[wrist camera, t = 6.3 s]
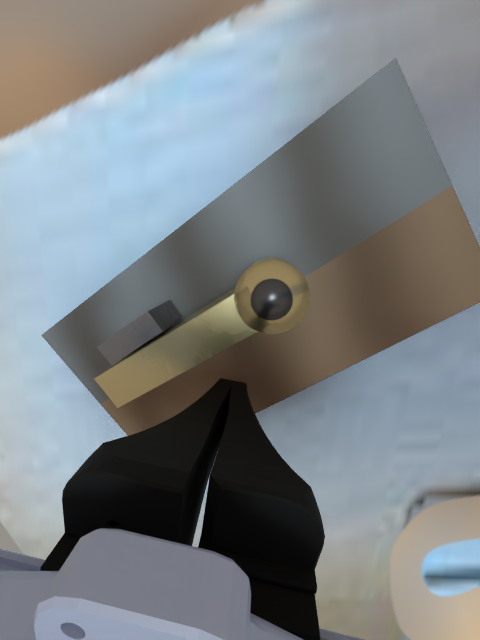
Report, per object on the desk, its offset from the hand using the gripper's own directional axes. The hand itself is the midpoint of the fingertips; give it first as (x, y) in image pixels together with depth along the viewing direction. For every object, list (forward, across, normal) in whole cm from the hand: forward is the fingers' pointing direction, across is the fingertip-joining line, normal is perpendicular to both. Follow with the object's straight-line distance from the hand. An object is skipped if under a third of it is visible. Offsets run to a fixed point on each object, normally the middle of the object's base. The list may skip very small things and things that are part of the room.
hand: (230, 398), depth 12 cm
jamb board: (+2, 0, -4) cm, 5 cm away
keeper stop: (+1, +4, -3) cm, 5 cm away
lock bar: (+1, +2, -3) cm, 4 cm away
